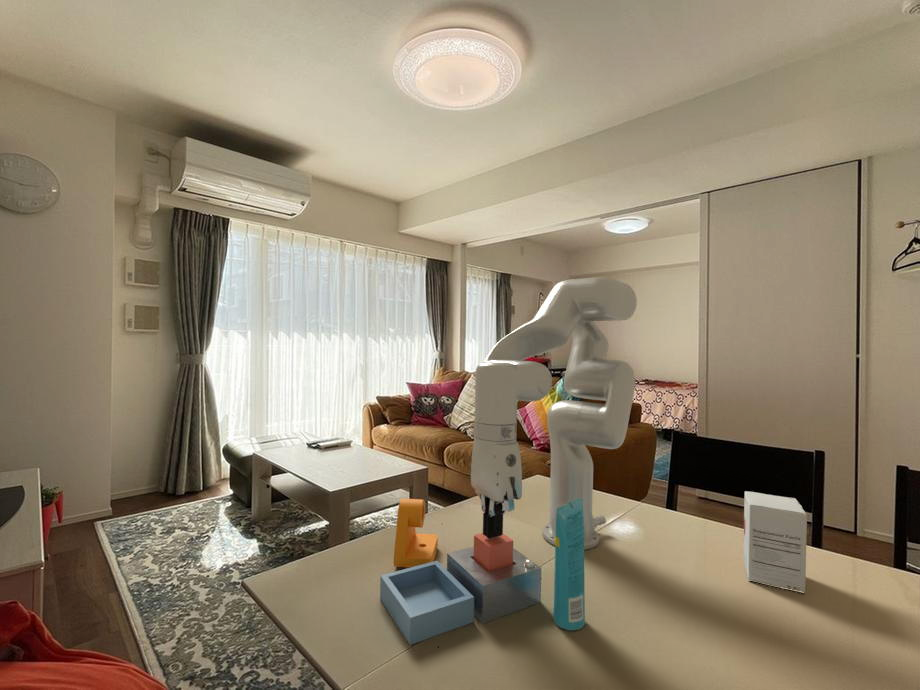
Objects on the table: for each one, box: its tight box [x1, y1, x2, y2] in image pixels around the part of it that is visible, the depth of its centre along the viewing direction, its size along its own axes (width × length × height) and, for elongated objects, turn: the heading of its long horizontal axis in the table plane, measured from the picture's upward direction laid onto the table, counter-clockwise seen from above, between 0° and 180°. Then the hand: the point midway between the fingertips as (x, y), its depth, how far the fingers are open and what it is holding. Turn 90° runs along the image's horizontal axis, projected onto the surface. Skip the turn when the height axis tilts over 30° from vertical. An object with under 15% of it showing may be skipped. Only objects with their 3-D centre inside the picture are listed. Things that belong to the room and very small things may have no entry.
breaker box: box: [446, 546, 542, 624], centre depth 76 cm, size 12×12×7 cm
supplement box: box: [742, 490, 808, 593], centre depth 84 cm, size 9×9×15 cm
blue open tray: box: [379, 560, 475, 646], centre depth 71 cm, size 11×13×4 cm
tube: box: [553, 497, 586, 631], centre depth 69 cm, size 7×5×19 cm, turn 140°
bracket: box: [393, 498, 439, 568], centre depth 89 cm, size 11×7×12 cm, turn 175°
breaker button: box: [473, 532, 514, 572], centre depth 76 cm, size 5×5×7 cm
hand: (492, 535), depth 76 cm, fingers closed
